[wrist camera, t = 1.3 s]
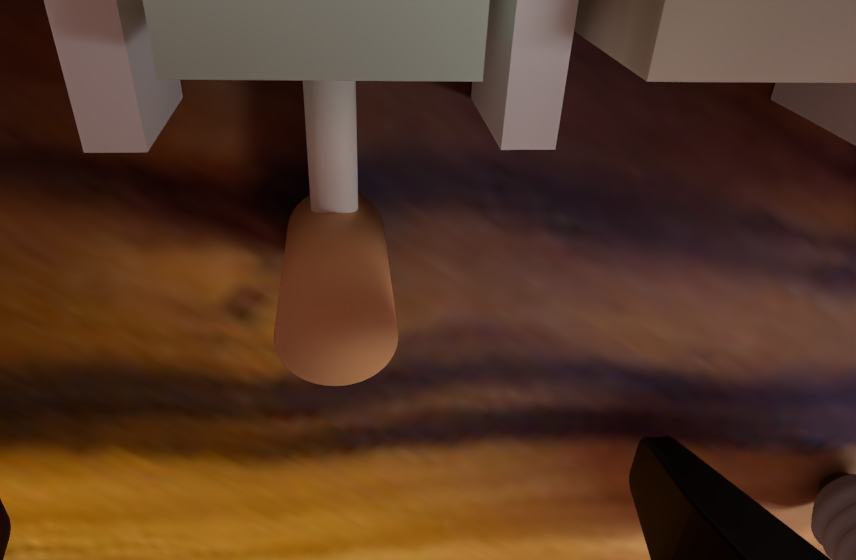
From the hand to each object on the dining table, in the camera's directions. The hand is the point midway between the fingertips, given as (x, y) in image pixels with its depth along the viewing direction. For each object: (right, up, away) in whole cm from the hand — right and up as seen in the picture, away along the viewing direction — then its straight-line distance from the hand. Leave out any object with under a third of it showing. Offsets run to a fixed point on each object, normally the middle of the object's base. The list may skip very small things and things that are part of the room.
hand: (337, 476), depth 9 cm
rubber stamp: (-1, +7, +4) cm, 8 cm away
